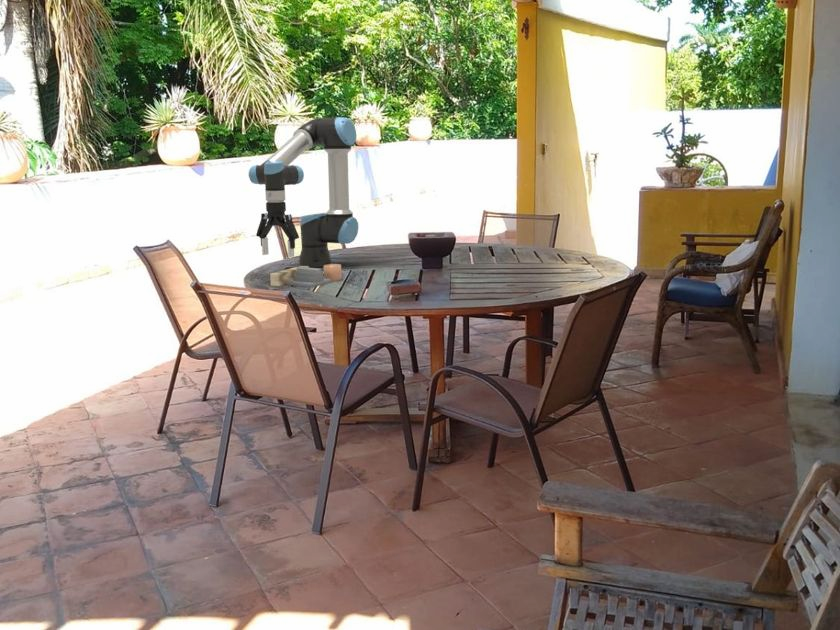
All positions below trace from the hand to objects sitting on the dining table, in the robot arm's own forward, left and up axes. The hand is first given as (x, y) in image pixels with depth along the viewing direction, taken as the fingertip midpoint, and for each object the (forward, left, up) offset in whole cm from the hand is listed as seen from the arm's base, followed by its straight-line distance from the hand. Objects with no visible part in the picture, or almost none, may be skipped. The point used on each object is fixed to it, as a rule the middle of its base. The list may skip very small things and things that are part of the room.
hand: (278, 255), depth 318 cm
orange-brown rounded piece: (-17, +13, -11) cm, 24 cm away
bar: (-6, 0, -12) cm, 13 cm away
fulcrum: (-6, +10, -11) cm, 16 cm away
